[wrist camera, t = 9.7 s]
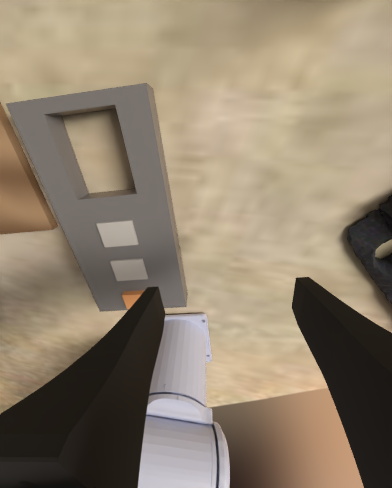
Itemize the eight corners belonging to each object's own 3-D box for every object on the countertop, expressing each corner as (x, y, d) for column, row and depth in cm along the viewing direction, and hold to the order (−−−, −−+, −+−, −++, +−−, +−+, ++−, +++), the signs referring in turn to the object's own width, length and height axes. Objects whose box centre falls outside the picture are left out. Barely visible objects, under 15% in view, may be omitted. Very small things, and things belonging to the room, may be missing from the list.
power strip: (187, 294, 25) (185, 310, 23) (107, 298, 26) (97, 315, 23) (152, 88, 15) (143, 81, 13) (27, 106, 16) (-2, 102, 14)
